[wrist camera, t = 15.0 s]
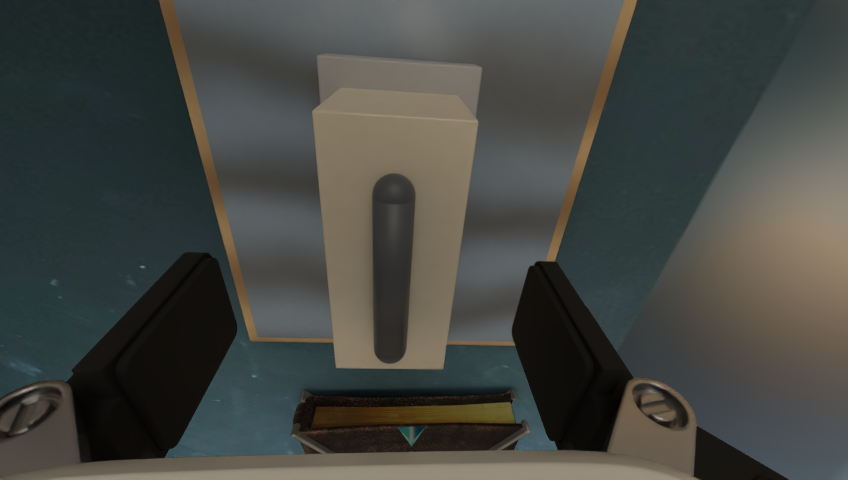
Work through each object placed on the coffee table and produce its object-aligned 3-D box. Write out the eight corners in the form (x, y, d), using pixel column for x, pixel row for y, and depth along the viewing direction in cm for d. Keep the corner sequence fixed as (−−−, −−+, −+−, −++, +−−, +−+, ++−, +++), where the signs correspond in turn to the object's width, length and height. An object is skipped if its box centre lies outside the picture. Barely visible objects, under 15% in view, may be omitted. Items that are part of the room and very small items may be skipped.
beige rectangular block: (324, 53, 13) (254, 69, 7) (476, 64, 14) (530, 88, 8) (342, 305, 20) (313, 426, 14) (444, 308, 21) (460, 426, 14)
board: (162, -70, 13) (129, -84, 11) (626, -26, 14) (653, -33, 13) (258, 324, 23) (247, 345, 21) (522, 329, 24) (529, 349, 23)
